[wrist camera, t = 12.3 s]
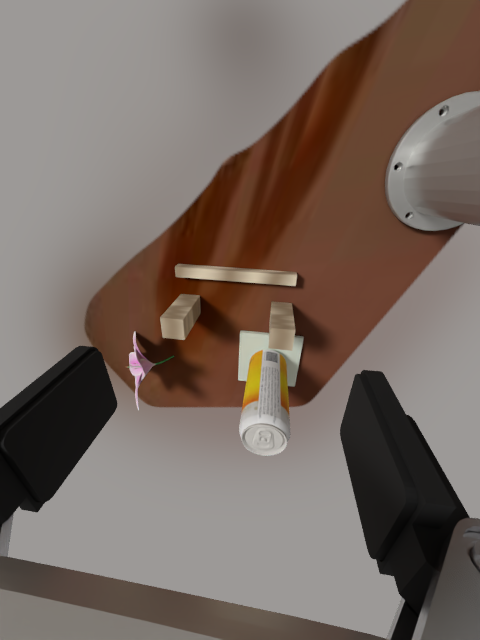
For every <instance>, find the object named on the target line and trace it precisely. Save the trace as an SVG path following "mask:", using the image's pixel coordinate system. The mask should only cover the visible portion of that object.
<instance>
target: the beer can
mask: <svg viewBox="0 0 480 640" xmlns="http://www.w3.org/2000/svg"><path fill="white" fill-rule="evenodd" d="M239 433H240V436H241V440H242V443H243V445H244V446H245V448H246V449H248V450H249V451H251V452H253V453H255V454H258V455H264V456H271V455H276V454H278V453H280V452H282V451H283V450H284V449H285V448H286V446H287V442H288V440H289V438H290V419H289V401H288V383H287V364H286V360H285V358H284V357H283V356H282V355H281V354H280V353H278V352H276V351H273V350H268V349H267V350H261V351H258V352H256V353H255V354H254V355H253V356H252V357H251V359H250V362H249V369H248V375H247V381H246V388H245V394H244V401H243V407H242V414H241V420H240V426H239Z"/></svg>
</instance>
